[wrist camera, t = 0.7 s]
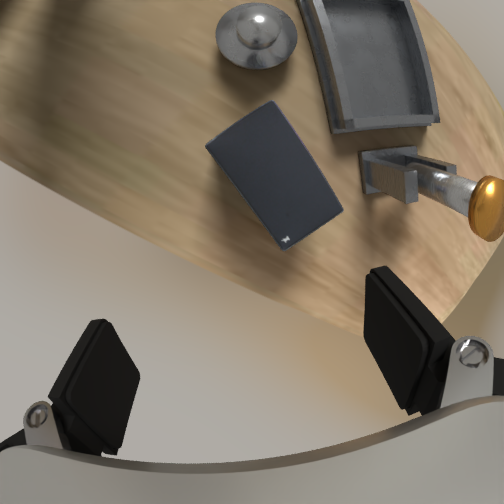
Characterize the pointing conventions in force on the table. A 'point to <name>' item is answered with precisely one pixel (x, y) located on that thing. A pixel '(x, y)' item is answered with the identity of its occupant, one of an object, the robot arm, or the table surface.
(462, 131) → the table surface
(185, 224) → the table surface
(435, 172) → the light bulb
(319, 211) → the small box
